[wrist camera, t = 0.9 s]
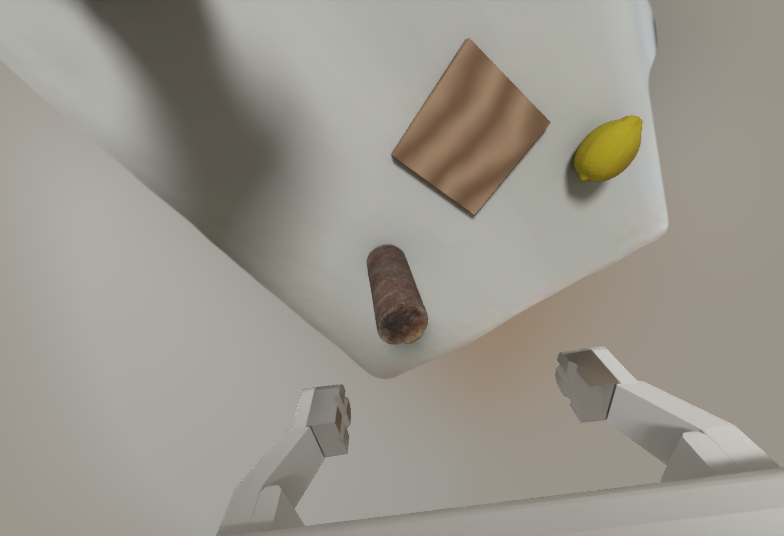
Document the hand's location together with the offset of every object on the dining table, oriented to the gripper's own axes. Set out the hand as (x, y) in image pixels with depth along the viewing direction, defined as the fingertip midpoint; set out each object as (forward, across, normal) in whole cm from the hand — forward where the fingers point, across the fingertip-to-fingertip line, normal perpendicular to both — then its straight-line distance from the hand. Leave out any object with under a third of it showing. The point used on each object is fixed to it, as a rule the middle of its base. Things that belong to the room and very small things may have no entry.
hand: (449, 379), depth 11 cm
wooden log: (+43, +4, +16) cm, 46 cm away
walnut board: (+44, -12, -3) cm, 45 cm away
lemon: (+46, -33, +2) cm, 57 cm away
